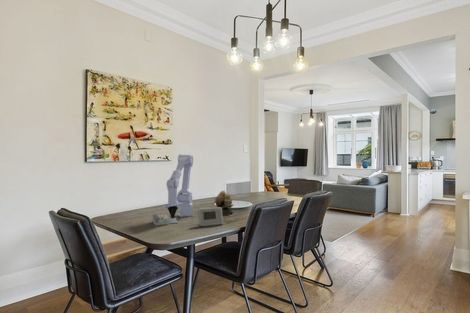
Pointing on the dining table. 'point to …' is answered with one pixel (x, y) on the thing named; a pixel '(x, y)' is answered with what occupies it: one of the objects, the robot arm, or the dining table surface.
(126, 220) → the dining table surface
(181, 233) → the dining table surface
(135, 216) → the dining table surface
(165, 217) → the gauge sled
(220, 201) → the brown bushy plant
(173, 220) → the gauge bench
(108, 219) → the dining table surface
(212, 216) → the digital clock
